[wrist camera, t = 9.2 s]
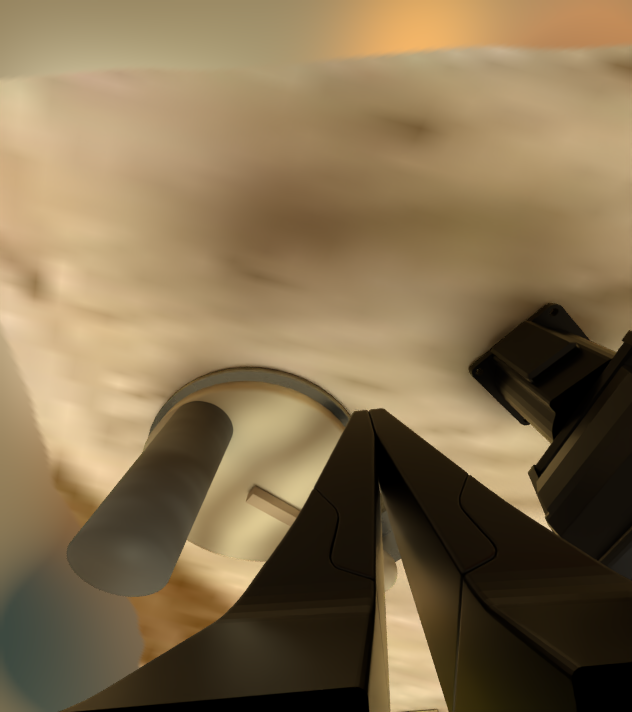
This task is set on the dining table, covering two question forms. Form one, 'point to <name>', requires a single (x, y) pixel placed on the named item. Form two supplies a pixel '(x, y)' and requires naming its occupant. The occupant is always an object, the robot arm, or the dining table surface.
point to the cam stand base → (292, 383)
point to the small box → (427, 711)
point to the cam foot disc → (210, 486)
